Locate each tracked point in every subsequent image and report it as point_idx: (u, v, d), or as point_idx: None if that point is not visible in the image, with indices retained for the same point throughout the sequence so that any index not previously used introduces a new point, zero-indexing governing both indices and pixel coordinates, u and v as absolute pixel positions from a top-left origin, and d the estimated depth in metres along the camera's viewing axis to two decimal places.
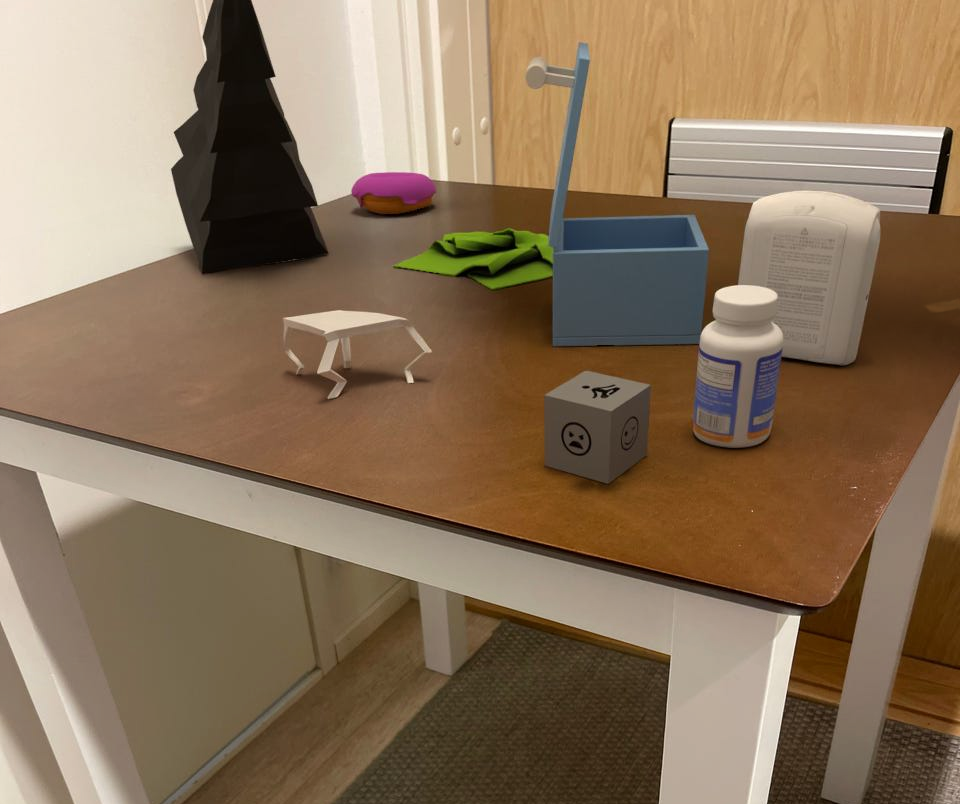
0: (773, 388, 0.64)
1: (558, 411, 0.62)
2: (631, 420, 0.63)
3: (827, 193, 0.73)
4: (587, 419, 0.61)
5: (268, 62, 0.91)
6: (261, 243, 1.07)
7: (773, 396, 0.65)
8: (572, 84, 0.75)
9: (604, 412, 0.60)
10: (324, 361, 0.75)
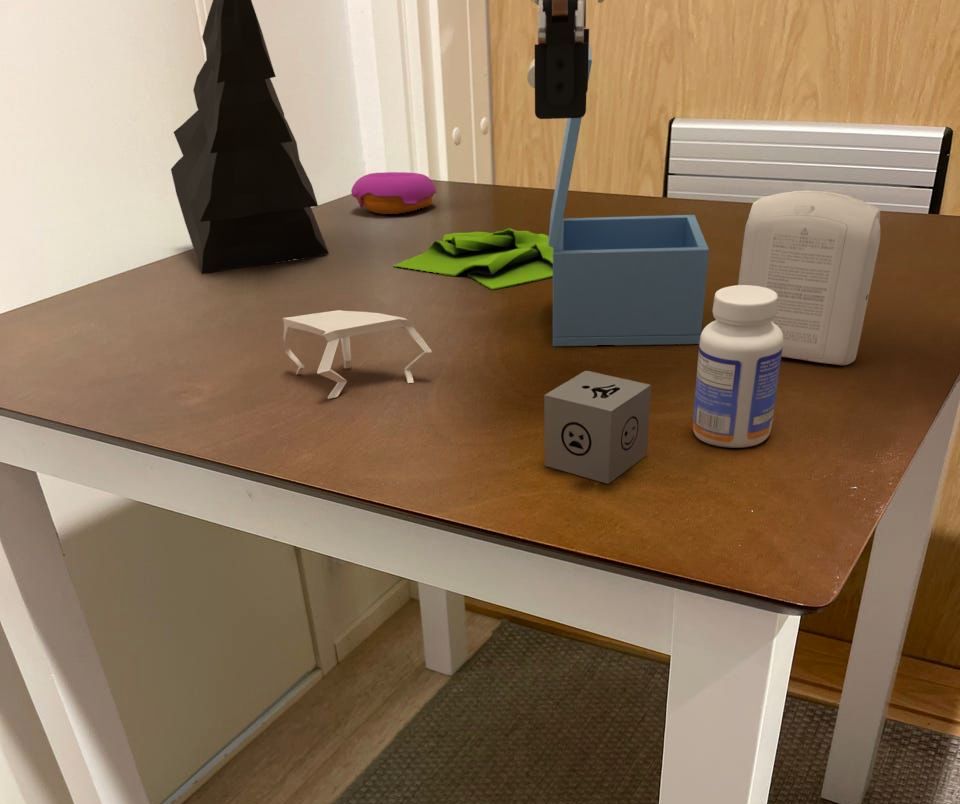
0: (773, 388, 0.64)
1: (558, 411, 0.62)
2: (631, 420, 0.63)
3: (827, 193, 0.73)
4: (587, 419, 0.61)
5: (268, 62, 0.91)
6: (261, 243, 1.07)
7: (773, 396, 0.65)
8: None
9: (604, 412, 0.60)
10: (324, 361, 0.75)
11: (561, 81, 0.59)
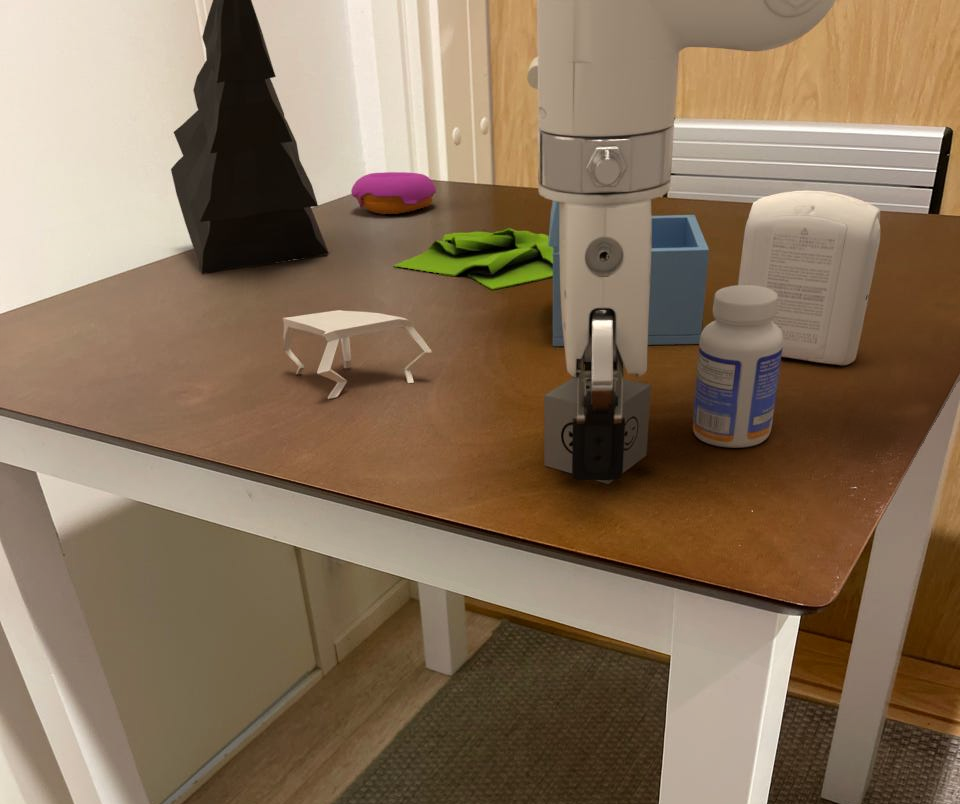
0: (773, 388, 0.64)
1: (558, 411, 0.62)
2: (631, 420, 0.63)
3: (827, 193, 0.73)
4: None
5: (268, 62, 0.91)
6: (261, 243, 1.07)
7: (773, 396, 0.65)
8: None
9: None
10: (324, 361, 0.75)
11: (599, 454, 0.60)
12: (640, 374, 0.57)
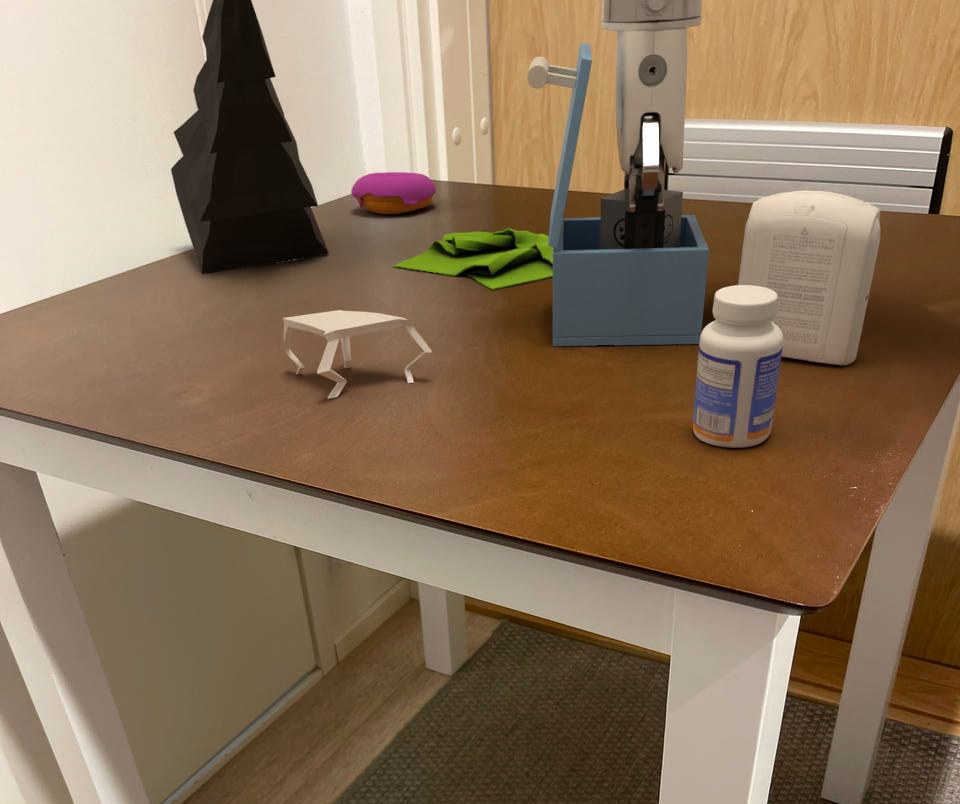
0: (773, 388, 0.64)
1: (611, 210, 0.81)
2: (668, 217, 0.81)
3: (827, 193, 0.73)
4: None
5: (268, 62, 0.91)
6: (261, 243, 1.07)
7: (773, 396, 0.65)
8: (574, 84, 0.75)
9: None
10: (324, 361, 0.75)
11: (645, 237, 0.79)
12: (678, 168, 0.76)
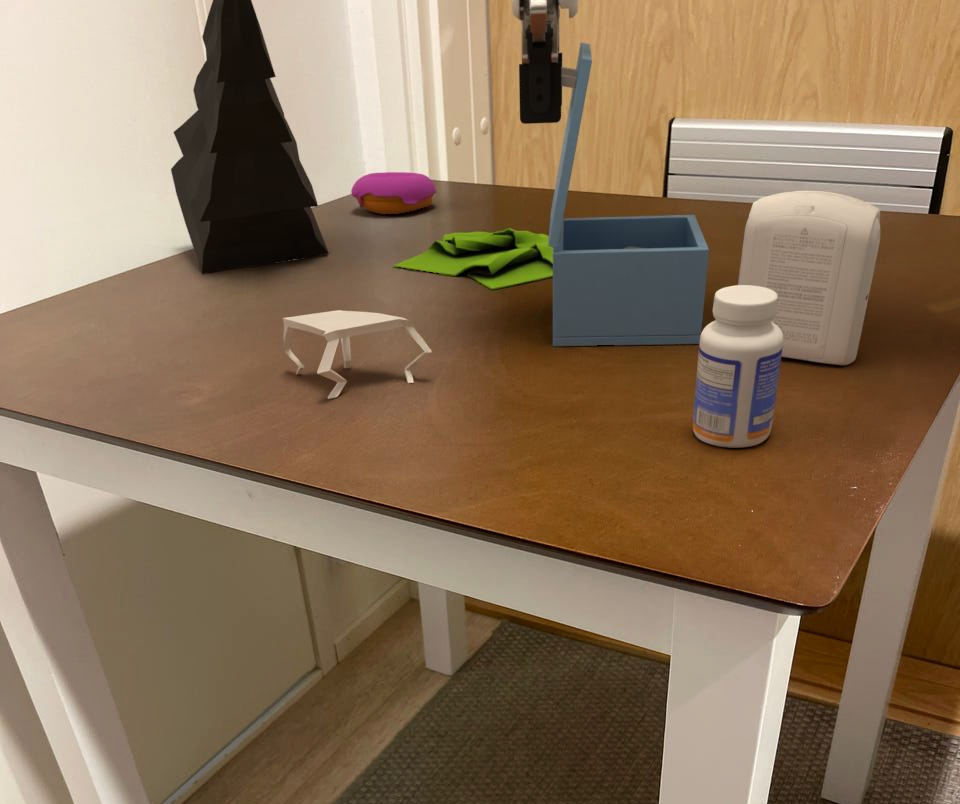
0: (773, 388, 0.64)
1: None
2: None
3: (827, 193, 0.73)
4: None
5: (268, 62, 0.91)
6: (261, 243, 1.07)
7: (773, 396, 0.65)
8: (574, 84, 0.75)
9: None
10: (324, 361, 0.75)
11: (541, 93, 0.74)
12: (571, 9, 0.70)
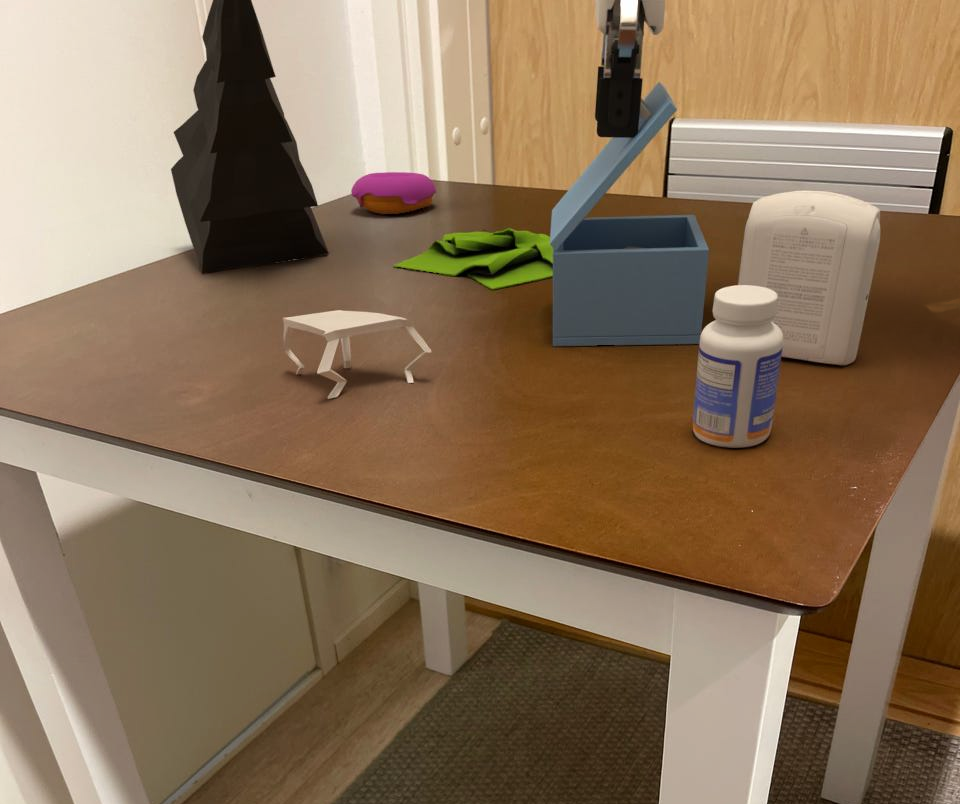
0: (773, 388, 0.64)
1: None
2: None
3: (827, 193, 0.73)
4: None
5: (268, 62, 0.91)
6: (261, 243, 1.07)
7: (773, 396, 0.65)
8: (646, 118, 0.76)
9: None
10: (324, 361, 0.75)
11: (620, 108, 0.74)
12: (658, 27, 0.70)
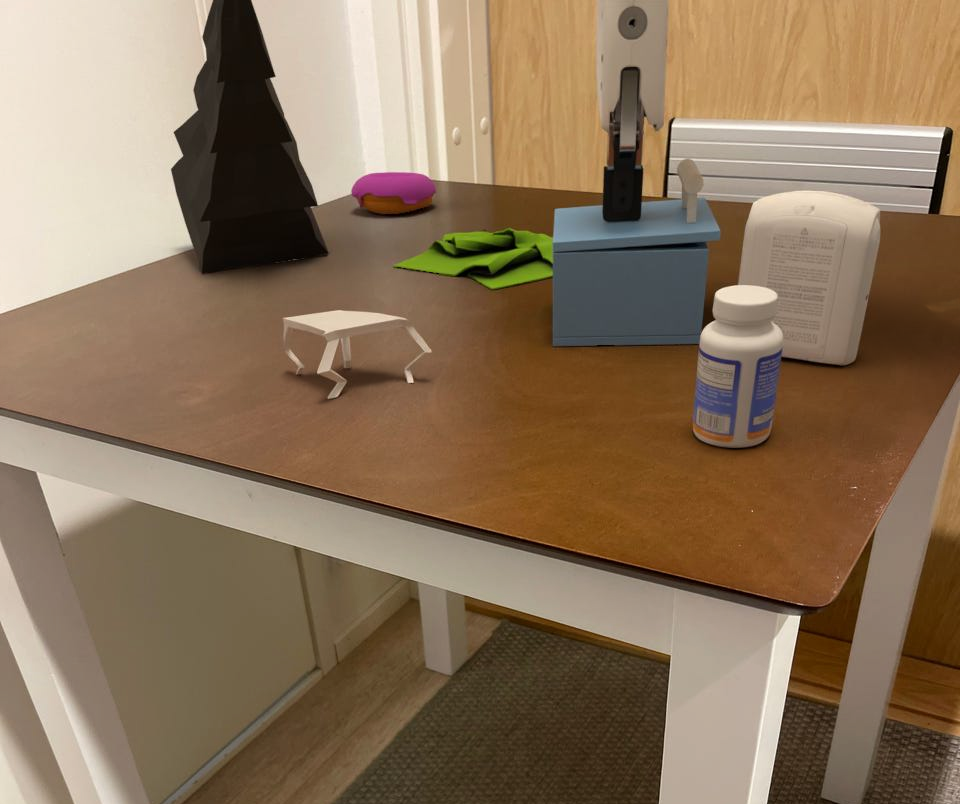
0: (773, 388, 0.64)
1: None
2: None
3: (827, 193, 0.73)
4: None
5: (268, 62, 0.91)
6: (261, 243, 1.07)
7: (773, 396, 0.65)
8: (690, 221, 0.80)
9: None
10: (324, 361, 0.75)
11: (624, 195, 0.80)
12: (659, 125, 0.74)
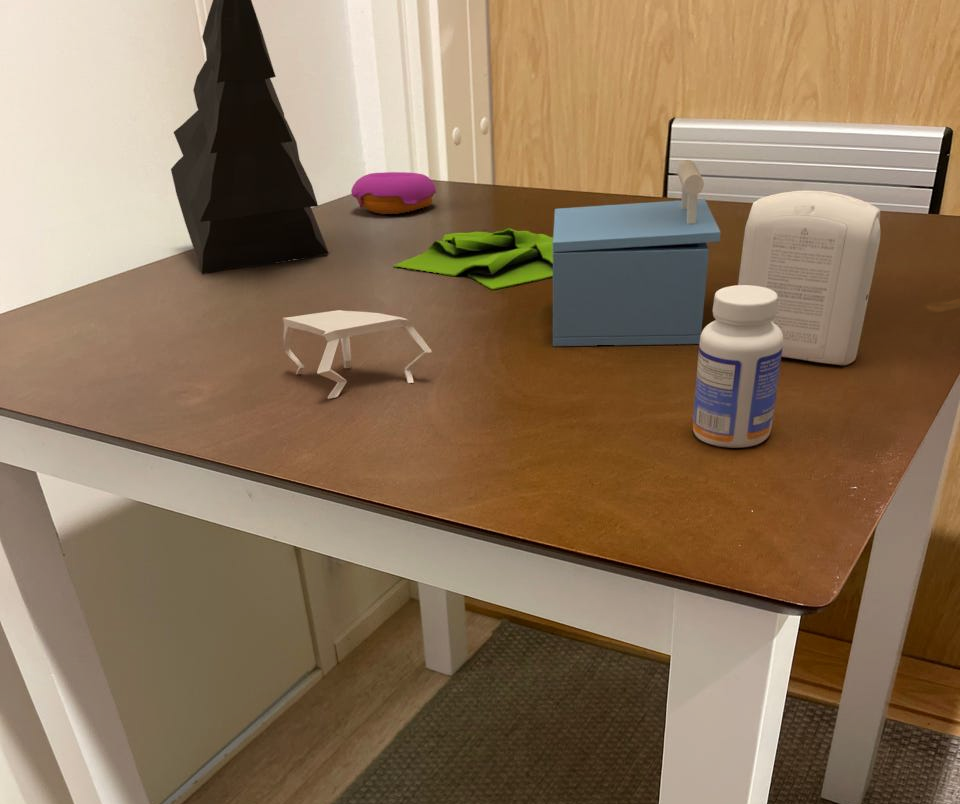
0: (773, 388, 0.64)
1: None
2: None
3: (827, 193, 0.73)
4: None
5: (268, 62, 0.91)
6: (261, 243, 1.07)
7: (773, 396, 0.65)
8: (690, 222, 0.80)
9: None
10: (324, 361, 0.75)
11: None
12: None
